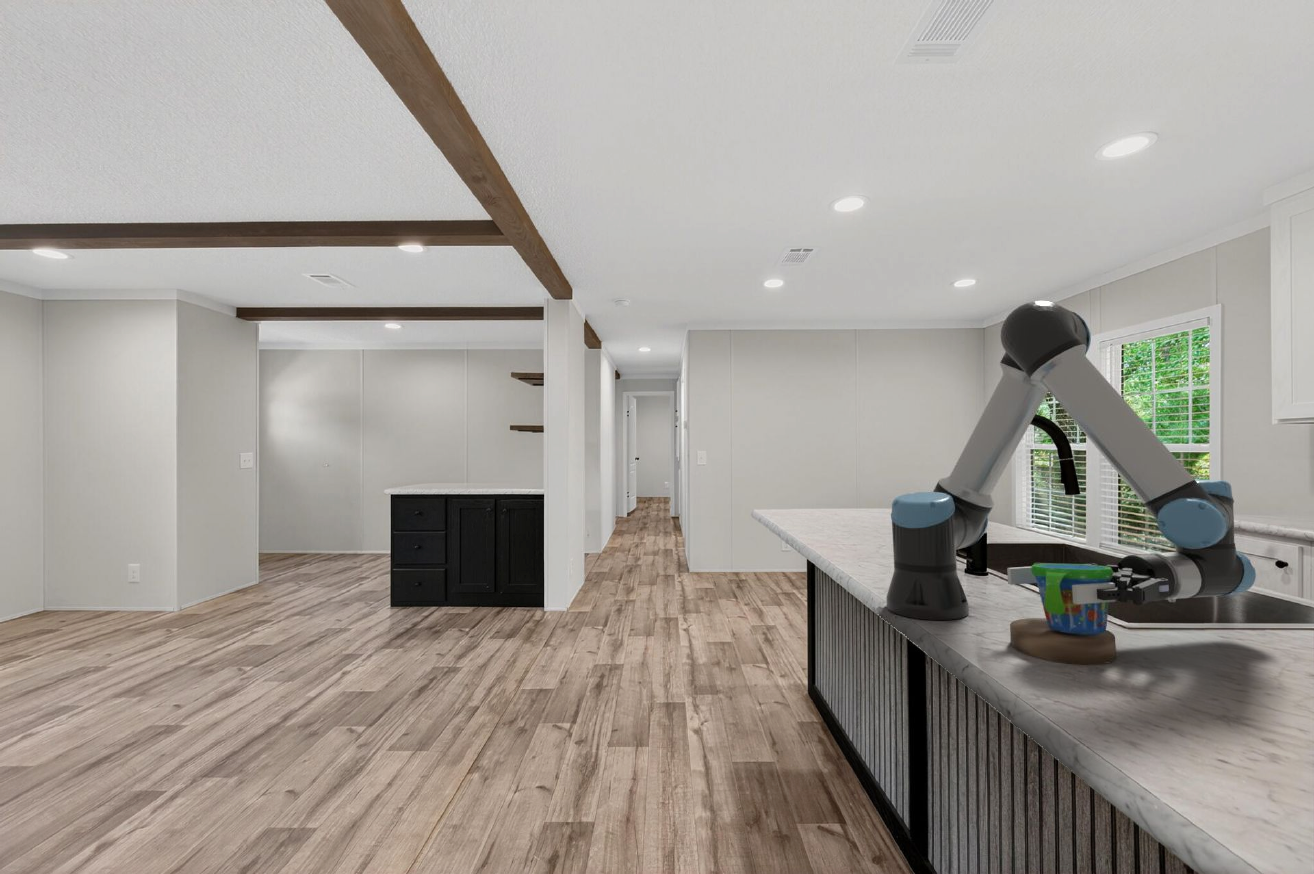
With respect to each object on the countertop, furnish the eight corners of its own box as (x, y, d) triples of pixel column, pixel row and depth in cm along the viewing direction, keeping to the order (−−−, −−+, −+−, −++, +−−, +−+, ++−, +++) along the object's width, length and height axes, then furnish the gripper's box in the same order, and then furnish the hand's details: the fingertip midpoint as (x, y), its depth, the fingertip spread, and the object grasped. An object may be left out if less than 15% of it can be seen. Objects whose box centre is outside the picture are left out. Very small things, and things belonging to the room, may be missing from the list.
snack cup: (1066, 621, 102) (1060, 560, 103) (1139, 631, 93) (1132, 565, 94) (1014, 631, 94) (1009, 566, 96) (1089, 643, 85) (1081, 571, 87)
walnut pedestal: (991, 638, 102) (990, 621, 102) (1064, 632, 104) (1064, 615, 104) (1057, 667, 88) (1056, 647, 88) (1140, 660, 90) (1139, 640, 90)
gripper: (1239, 620, 86) (1109, 631, 83) (1091, 583, 111) (987, 590, 108) (1236, 568, 86) (1106, 577, 83) (1089, 543, 111) (985, 549, 108)
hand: (1039, 584), depth 96 cm, fingers open, 13 cm apart
